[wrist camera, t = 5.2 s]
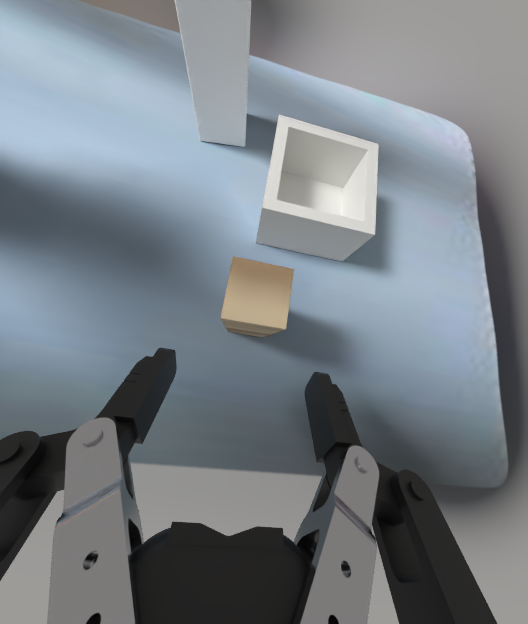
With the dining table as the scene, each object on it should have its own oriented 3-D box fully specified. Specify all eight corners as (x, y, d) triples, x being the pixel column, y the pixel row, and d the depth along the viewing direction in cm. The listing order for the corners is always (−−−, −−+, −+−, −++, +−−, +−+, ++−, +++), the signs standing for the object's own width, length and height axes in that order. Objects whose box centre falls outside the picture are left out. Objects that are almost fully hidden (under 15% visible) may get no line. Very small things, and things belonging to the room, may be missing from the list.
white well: (342, 261, 24) (375, 234, 19) (255, 242, 23) (262, 207, 17) (347, 188, 27) (378, 144, 21) (269, 167, 25) (279, 114, 20)
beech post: (263, 337, 21) (286, 329, 11) (228, 331, 21) (220, 317, 11) (268, 303, 22) (293, 269, 12) (234, 297, 22) (233, 256, 12)
